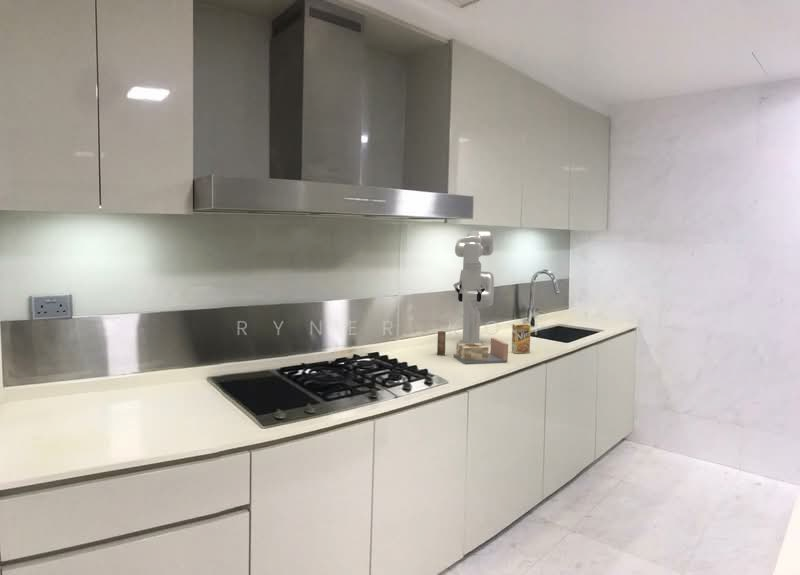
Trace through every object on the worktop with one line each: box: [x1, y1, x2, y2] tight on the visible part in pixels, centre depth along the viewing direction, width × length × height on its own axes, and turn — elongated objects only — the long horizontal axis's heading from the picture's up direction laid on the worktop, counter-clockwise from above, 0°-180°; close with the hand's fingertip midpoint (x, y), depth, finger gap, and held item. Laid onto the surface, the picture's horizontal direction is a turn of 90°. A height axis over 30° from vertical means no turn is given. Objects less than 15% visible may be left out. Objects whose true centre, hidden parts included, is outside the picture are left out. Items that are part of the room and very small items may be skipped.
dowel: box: [436, 330, 447, 356], centre depth 259 cm, size 4×4×12 cm
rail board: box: [453, 337, 509, 365], centre depth 250 cm, size 16×22×9 cm
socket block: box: [455, 342, 489, 361], centre depth 249 cm, size 12×12×6 cm
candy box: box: [511, 323, 531, 354], centre depth 268 cm, size 9×4×15 cm, turn 107°
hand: (469, 301), depth 252 cm, fingers open, 9 cm apart
